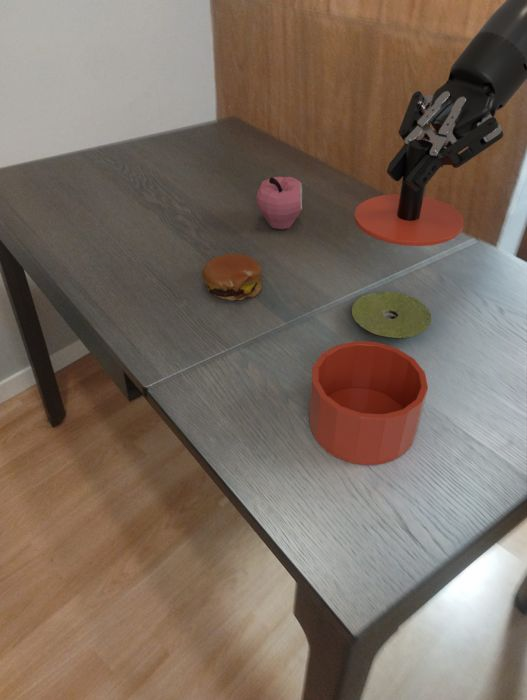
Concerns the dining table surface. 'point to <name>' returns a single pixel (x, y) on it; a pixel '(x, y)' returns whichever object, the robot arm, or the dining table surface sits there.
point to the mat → (391, 314)
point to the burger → (232, 277)
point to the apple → (280, 201)
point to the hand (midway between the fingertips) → (401, 181)
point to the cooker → (366, 402)
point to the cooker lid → (409, 211)
